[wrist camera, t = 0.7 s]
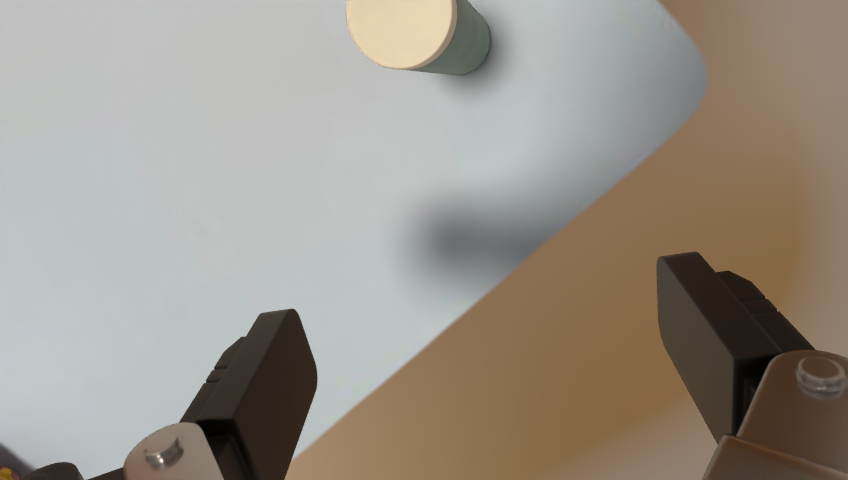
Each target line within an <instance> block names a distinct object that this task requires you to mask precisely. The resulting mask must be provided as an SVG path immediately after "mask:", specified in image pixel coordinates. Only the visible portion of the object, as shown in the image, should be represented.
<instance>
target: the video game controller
mask: <svg viewBox="0 0 848 480" xmlns="http://www.w3.org/2000/svg"><path fill="white" fill-rule="evenodd" d="M0 480H20V478H19V475H18V474H17V473H16V472H15V471H13V470H12V469H10V468H8V467H4V466H0Z"/></svg>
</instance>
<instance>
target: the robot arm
mask: <svg viewBox="0 0 848 480" xmlns="http://www.w3.org/2000/svg"><path fill="white" fill-rule="evenodd" d="M657 294H658V320H659V328H660V333H661V337H662V341H663V344H664V346H665V348H666V350H667V352H668V354H669V356H670V358H671V360H672V361H673V363H674V365H675V367H676V369H677V371H678V373H679V374H680V376H681V378H682V380H683V382H684V383H685V385H686V387H687V389H688V391H689V393H690V395H691V396H692V398H693V400H694V402H695V404H696V406H697V407H698V409H699V411H700V413H701V415H702V417H703V418H704V420H705V422H706V424H707V426H708V428H709V429H710V431H711V433H712V435H713V437H714V439H715V440H716V442H717V444H718V446H717V448H716V450H715V452H714V455H713V457H712V459H711V461H710V463H709V465H708V467H707V469H706V472H705V474H704V476H703V478H702V480H848V358H845V357H843V356H840V355H837V354H833V353H829V352H824V351H817V350H815V349H814V348H813V346H812V345H811V344H810V343H809V342H808V341H807V340H806V339H805V338H804V337H803V336H802V335H801V334H800V333H799V332H798V331H797V330H796V328H795V327H794V326H793V325H791V323H790V322H789V321H788V320H787V319H786V318H785V317H784V316H783V315H782V314H781V313H780V312H777V309H776V307H774V305H773V304H772V303H771V302H770V301H769V300H768V299H765V296H764V295H763V294H762V293H761V292H760V291H759V290H758V288H756V286H755V285H754V284H753V283H752V282H751V281H749V280H747V279H745V278H742V277H740V276H738V275H736V274H734V273H732V272H730V271H723V272H717V273H715V271H714V270H713V269H712V268H711V267H710V266H709V264H708V263H707V262H706V261H705V260H704V259H703V257H702V256H701V255H700V254H699V253H698V252H689V253H682V254H675V255H668V256H661V257H659V258H658V260H657ZM316 388H317V369H316V364H315V361H314V358H313V355H312V352H311V349H310V346H309V343H308V340H307V337H306V334H305V332H304V329H303V326H302V323H301V320H300V317H299V315H298V313H297V312H296V310H294V309H286V310H279V311H272V312H265V313H261V314H260V315H259V316H258V318H257V319H256V321H255V323H254V324H253V326H252V328H251V329H250V331H249V333H248V334H247V336H246V337H241V338H240V339H238V340H237V341H236V342H235V343H234V344H233V345H232V346H230V347H229V348H228V349H227V350H226V351H225V352H224V353H223V354H222V356H221V358H220V359H219V361H218V362H217V364H216V365H215V367H214V370H212V372H211V373H210V375H209V376H208V378H207V379H206V383H204V384H203V386H202V387H201V389H200V390H199V392H198V394H197V395H196V397H195V398H194V400H193V401H192V403H191V405H190V406H189V408H188V409H187V411H186V412H185V414H184V416H183V417H182V419H181V420H180V422H179V423H176V424H172V425H169V426H166V427H164V428H162V429H159V430H157V431H156V432H154V433H152V434H150V435H149V436H147V437H146V438H145V439H143V440H142V441H141V442H140V443H138V444H137V445H136V446H135V447H134V448H133V450H132V451H131V452H130V453H129V455H128V456H127V458H126V460H125V462H124V466H123V468H120V469H117V470H114V471H111V472H108V473H105V474H102V475H100V476H97V477H94V478H91V479H88V480H284V479H285V476H286V473H287V470H288V468H289V465H290V462H291V459H292V456H293V454H294V451H295V448H296V445H297V442H298V440H299V437H300V434H301V431H302V428H303V426H304V423H305V420H306V417H307V414H308V411H309V409H310V406H311V403H312V400H313V397H314V395H315V392H316ZM20 480H84V479H83V477H82V475H81V474H80V472H79V470H78V469H77V467H76V466H75V465H74V464H72V463H68V462H61V463H55V464H51V465H48V466H45V467H42V468H40V469H38V470H36V471H34V472H32V473H30V474H28V475H26V476H25V477H23V478H22V479H20Z"/></svg>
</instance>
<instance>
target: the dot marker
mask: <svg viewBox="0 0 848 480" xmlns="http://www.w3.org/2000/svg"><path fill="white" fill-rule="evenodd" d="M346 20H347V25H348V29H349V32H350V35H351V37H352V39H353V41H354V43H355V44H356V46H357V47H358V49H359V50H360V51H361V52H362V53H363V54H364V55H365V56H366V57H367V58H368V59H370V60H371V61H373V62H374V63H376V64H378V65H381V66H383V67H387V68H392V69H401V70H411V71H421V72H430V73H440V74H450V75H462V74H466V73H469V72H471V71H473V70H474V69H476V68H477V67H478V66H479V65H480V64H481V63H482V62H483V61H484V59H485V57H486V55H487V53H488V50H489V46H490V33H489V29H488V26H487V24H486V22H485V20H484V19H483V17H482V16H481V15H480V14H479V13H478V12H477V11H476V10H475V9H474V7H473V6H472V5H471V4H470V3H469V2H468V1H467V0H347V2H346Z"/></svg>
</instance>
